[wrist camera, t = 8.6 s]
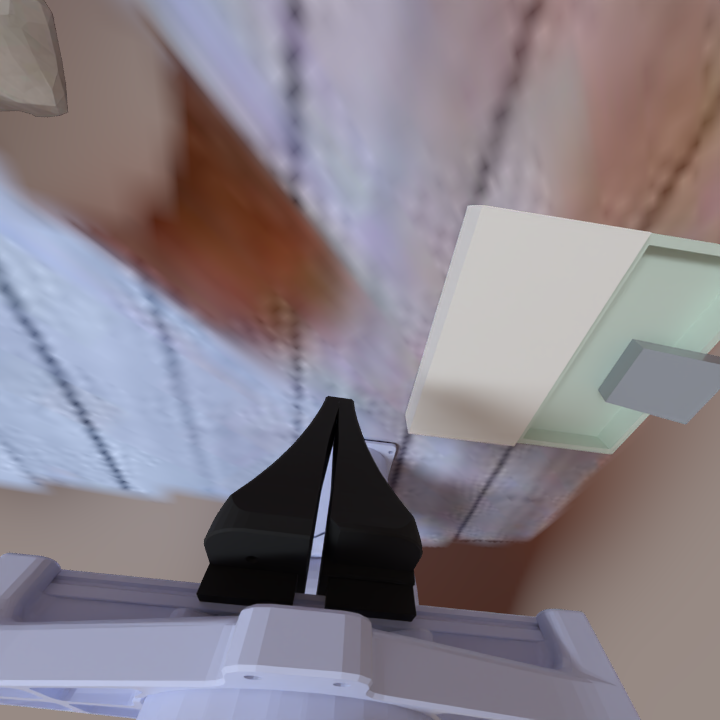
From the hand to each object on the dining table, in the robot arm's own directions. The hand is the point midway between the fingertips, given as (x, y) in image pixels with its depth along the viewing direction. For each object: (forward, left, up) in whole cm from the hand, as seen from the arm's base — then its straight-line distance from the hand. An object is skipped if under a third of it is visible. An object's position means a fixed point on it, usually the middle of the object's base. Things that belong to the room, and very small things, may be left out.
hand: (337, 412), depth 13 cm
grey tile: (+1, -24, -6) cm, 25 cm away
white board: (+1, -12, -9) cm, 15 cm away
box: (+1, -22, -9) cm, 24 cm away
